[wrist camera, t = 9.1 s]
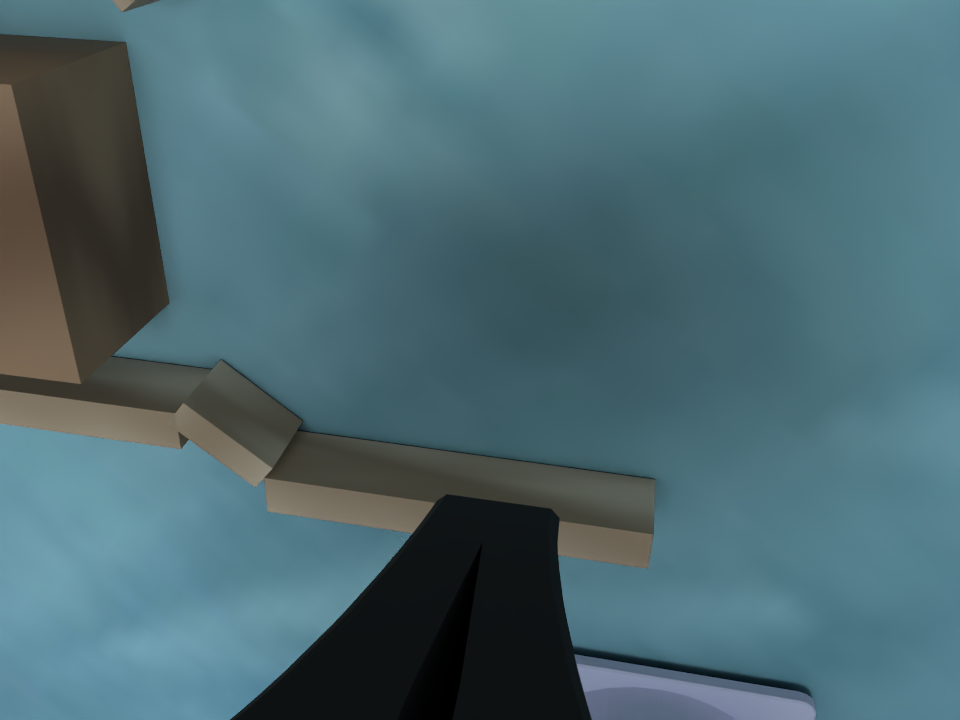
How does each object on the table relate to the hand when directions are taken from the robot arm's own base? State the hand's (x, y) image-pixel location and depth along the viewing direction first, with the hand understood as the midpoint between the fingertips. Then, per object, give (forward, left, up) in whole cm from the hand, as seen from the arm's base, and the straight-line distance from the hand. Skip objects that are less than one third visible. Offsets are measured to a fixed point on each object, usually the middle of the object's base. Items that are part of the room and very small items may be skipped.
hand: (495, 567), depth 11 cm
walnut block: (0, +13, -10) cm, 16 cm away
